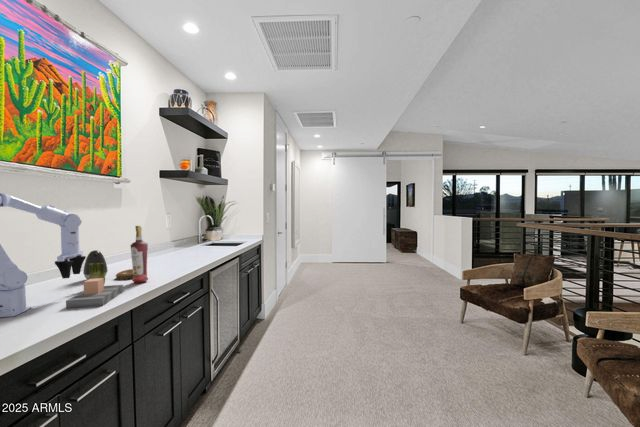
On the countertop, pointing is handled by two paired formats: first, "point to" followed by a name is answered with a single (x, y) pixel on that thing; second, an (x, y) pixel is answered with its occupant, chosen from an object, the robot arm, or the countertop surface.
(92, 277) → the fennel bulb
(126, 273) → the decorative rock
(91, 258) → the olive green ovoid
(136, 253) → the liquor
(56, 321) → the countertop surface
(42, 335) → the countertop surface
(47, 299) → the countertop surface
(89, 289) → the terracotta block
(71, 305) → the charcoal board
